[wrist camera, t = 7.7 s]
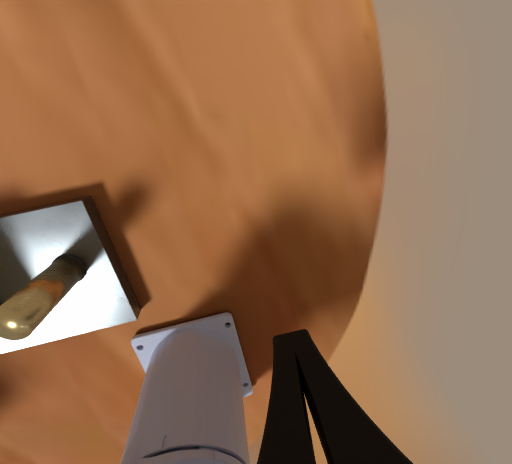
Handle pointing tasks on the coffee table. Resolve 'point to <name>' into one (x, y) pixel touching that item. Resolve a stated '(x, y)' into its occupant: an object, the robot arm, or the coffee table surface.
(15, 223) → the plate
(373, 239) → the coffee table surface
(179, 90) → the coffee table surface
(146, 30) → the coffee table surface
